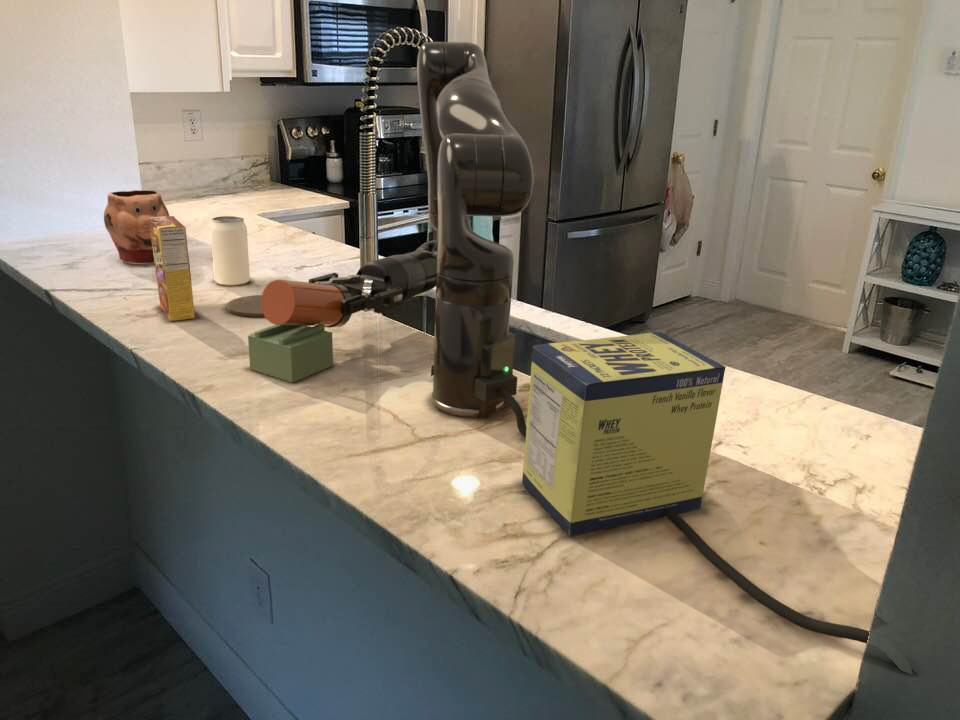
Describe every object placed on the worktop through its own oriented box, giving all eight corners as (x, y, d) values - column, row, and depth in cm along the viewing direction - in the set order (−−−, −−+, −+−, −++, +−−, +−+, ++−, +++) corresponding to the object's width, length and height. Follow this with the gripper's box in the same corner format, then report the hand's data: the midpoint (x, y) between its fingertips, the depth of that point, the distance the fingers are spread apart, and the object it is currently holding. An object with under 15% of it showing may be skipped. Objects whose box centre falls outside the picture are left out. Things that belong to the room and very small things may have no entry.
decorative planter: (94, 252, 161) (85, 186, 156) (152, 246, 169) (146, 182, 164) (128, 273, 147) (120, 200, 142) (190, 265, 155) (184, 196, 150)
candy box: (157, 306, 129) (147, 216, 123) (184, 304, 131) (175, 215, 125) (167, 322, 121) (157, 227, 116) (195, 318, 124) (187, 225, 118)
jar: (315, 322, 113) (323, 280, 112) (348, 332, 110) (356, 288, 109) (256, 320, 103) (264, 273, 102) (291, 331, 100) (299, 283, 99)
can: (239, 287, 142) (235, 223, 137) (207, 284, 143) (202, 220, 138) (256, 279, 148) (252, 217, 143) (225, 276, 149) (221, 214, 144)
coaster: (306, 306, 133) (306, 302, 133) (259, 321, 124) (259, 317, 124) (261, 294, 138) (261, 291, 138) (213, 308, 129) (212, 304, 129)
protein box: (703, 509, 76) (729, 364, 71) (568, 539, 70) (584, 383, 65) (643, 461, 85) (661, 330, 80) (518, 484, 79) (529, 343, 74)
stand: (333, 365, 107) (332, 326, 105) (292, 383, 101) (290, 342, 99) (291, 353, 111) (290, 315, 109) (249, 369, 105) (247, 329, 103)
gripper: (356, 250, 123) (283, 268, 110) (429, 264, 117) (359, 286, 104) (357, 294, 126) (285, 318, 113) (427, 311, 119) (360, 338, 106)
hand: (321, 302), depth 108 cm, fingers open, 7 cm apart
